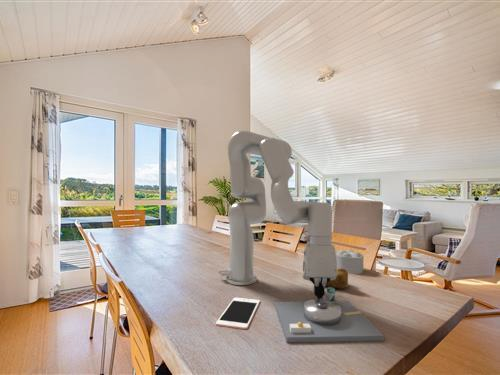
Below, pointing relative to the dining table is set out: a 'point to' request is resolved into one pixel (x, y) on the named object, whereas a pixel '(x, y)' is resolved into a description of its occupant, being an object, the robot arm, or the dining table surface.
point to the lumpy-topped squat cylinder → (350, 261)
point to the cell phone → (238, 313)
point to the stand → (307, 331)
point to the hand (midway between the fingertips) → (319, 297)
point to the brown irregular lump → (338, 280)
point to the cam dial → (323, 309)
